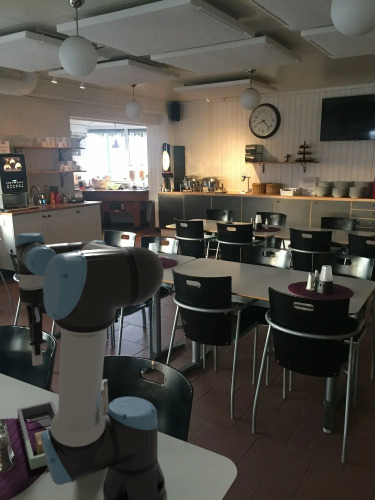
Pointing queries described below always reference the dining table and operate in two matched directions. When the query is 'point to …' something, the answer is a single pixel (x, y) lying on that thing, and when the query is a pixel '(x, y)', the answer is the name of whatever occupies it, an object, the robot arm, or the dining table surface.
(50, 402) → the channel
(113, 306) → the robot arm
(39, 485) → the dining table surface
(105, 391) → the candy bar box
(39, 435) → the oak block
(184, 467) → the dining table surface
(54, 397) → the dining table surface
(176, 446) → the dining table surface
